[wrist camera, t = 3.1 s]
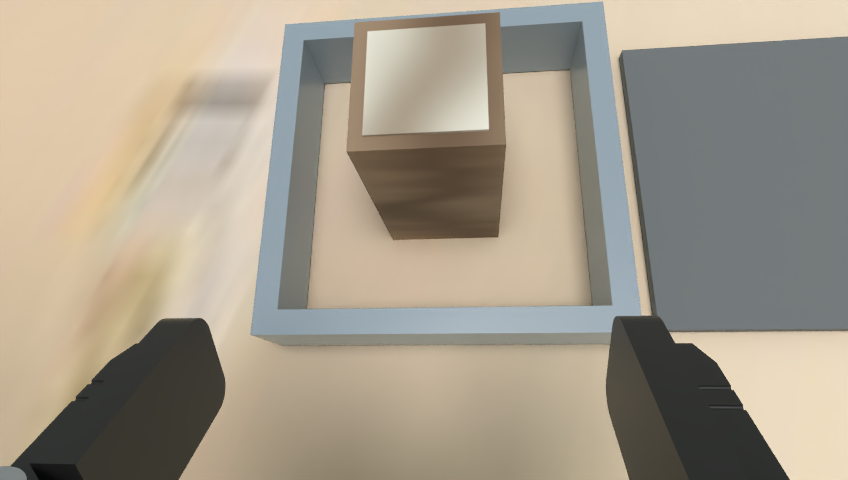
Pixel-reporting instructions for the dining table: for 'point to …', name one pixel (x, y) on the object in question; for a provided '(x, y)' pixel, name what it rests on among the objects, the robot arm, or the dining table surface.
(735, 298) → the rubber mat
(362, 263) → the dining table surface
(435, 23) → the walnut box
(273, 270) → the grey bin
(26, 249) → the dining table surface
